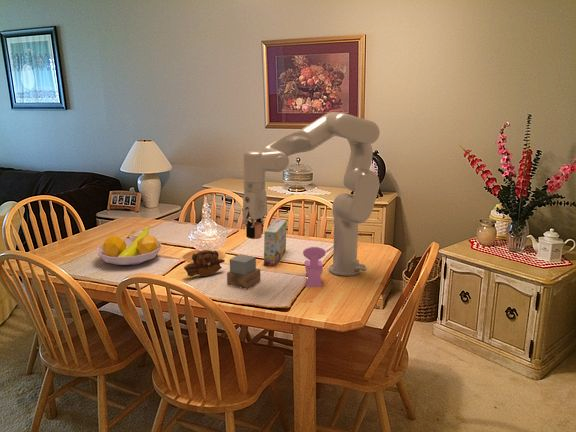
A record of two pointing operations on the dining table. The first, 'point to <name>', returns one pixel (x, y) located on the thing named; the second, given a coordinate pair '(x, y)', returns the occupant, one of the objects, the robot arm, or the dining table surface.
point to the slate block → (242, 264)
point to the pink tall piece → (313, 266)
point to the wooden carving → (204, 263)
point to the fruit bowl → (129, 249)
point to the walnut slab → (243, 279)
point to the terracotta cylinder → (257, 230)
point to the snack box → (274, 242)
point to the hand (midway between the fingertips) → (254, 235)
